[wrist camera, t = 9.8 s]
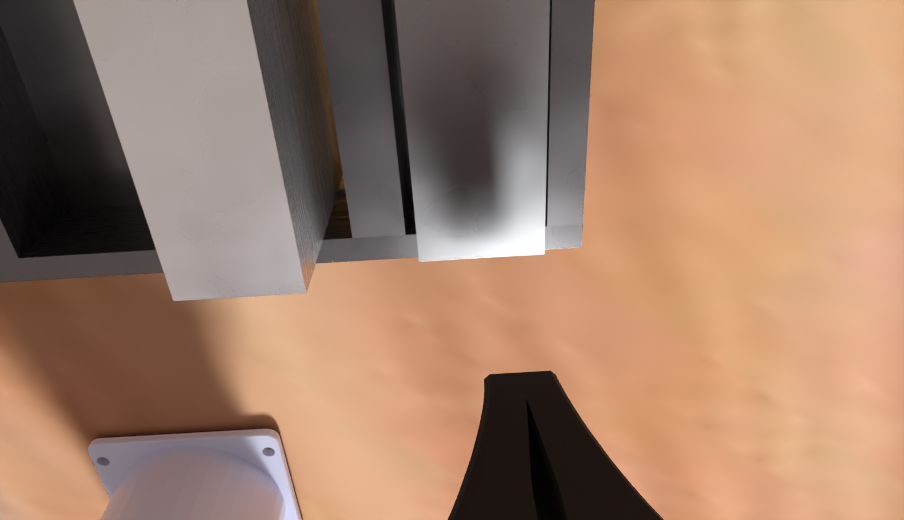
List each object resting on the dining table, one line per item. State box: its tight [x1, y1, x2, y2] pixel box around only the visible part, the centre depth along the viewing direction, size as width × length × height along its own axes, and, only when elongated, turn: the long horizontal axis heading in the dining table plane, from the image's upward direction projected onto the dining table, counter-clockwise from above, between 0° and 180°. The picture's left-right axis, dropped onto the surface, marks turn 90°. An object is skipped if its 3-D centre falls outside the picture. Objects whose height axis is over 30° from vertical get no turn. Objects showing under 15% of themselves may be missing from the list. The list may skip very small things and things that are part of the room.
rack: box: [0, 0, 595, 282], centre depth 16 cm, size 11×17×7 cm, turn 93°
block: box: [73, 0, 343, 301], centre depth 15 cm, size 8×3×7 cm, turn 3°
